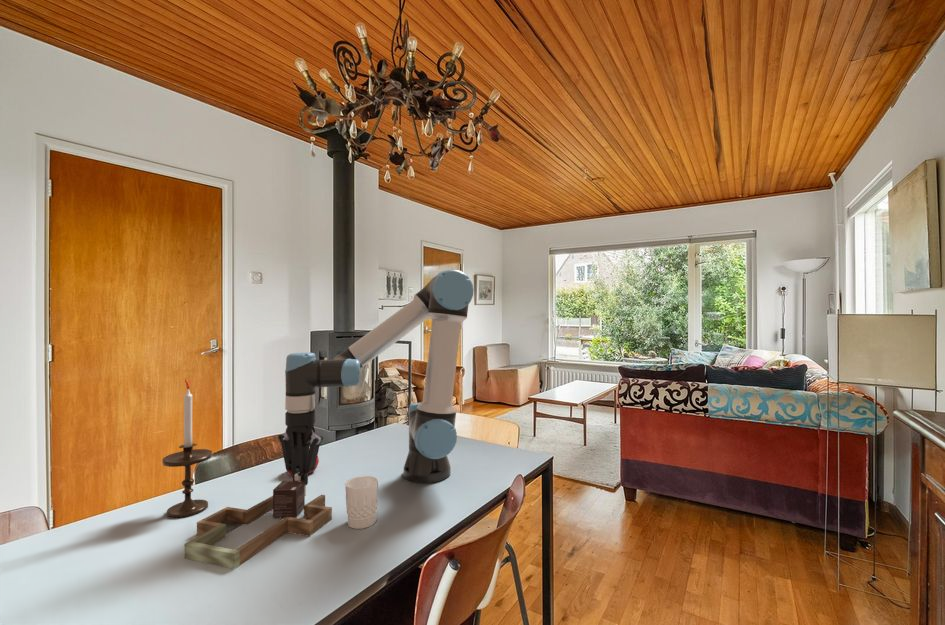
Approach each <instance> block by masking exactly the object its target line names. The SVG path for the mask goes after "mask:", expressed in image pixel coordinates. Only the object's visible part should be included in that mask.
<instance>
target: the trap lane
mask: <svg viewBox="0 0 945 625" xmlns="http://www.w3.org/2000/svg"><path fill="white" fill-rule="evenodd" d="M271 511H273V495H271V496H269V497H268V498H266V499H264V500H262V501H261V502H259V503H256V504H255V505H253V506H251V507H250V508H248V509H244V508H238V507H237V508H236V507H231V506H226V507H224V508H222V509H220V510H218V511H216V512H214V513H212V514H210V515H208V516H206V517H203V518H202V519H200V520H199V521H196V537H194V538H193V539H191V540H189V541H187V542H186V543H184V547H183V548H184V552H183V553H184V560H185V559H186V560H191V561H195V562H200V563H205V564H210V565H215V566H220V567H223V568H227V569H228V568H229V569H234V570H235V569H237V568H238V567H240V566H241V565H243V564H244V563H246V562H247V561H248V560H250V559H251V558H253V557H254V556H256V555H257V554H259V553H260V552H262V551H263V550H265V549H266V548H267V547H269V546H270V545H272V544H273V543H275V542H276V541H277V540H279V539H280V538H282V537H283V536H284V535H286V534H294V533H296V534H295V535H300V534H301V536H306V535H308V536H307V537H311V536H312V535H313V534H314V533H316V532H318V531H319V530H320V529H321V528H323V527H324V526H326V524H328V523H330V522H331V521H332V520H333V507H332V506H326V495H325V494H320V495H318V496H317V497H315V498H314V499H312V500H311V501H309V502H308V503H306V504H305V505H304V509H303V518H304V519H303V518H298V517H296V518H293V517H286V518H281V519H280V520H279V521H278V522H277V523H275V524H273V525H271V526H270V527H268V528H267V529H265V530H264V531H262V532H261V533H259V534H257V535H256V536H255V537H252V538H251V539H250V540H248V541H245V542H244V544H242V545H240V546H239V547H237V548H236V549H233V548H227V547H223V546H222V547H221V546H217V545H216V544H217V543H218V542H220V541H222V540H224V539H226V537H227V535H228V534H229V533H231V532H232V531H235V530H236V529H237V528H239V527H241V526H242V525H245V526H247V525H249V524H251V523H253V522H254V521H256V520H258V519H259V518H261V517H263V516H264V514H265V515H266V514H268V513H270V512H271ZM323 525H324V526H323ZM319 528H320V529H319ZM318 529H319V530H318ZM288 532H289V533H288ZM310 535H311V536H310Z"/></svg>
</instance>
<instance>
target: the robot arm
mask: <svg viewBox="0 0 945 625" xmlns="http://www.w3.org/2000/svg"><path fill="white" fill-rule="evenodd" d="M474 291H475V290H474V285H473V282H472V280H471V278H470V277H469V276H468V274H466V273H465V272H463V271H461V270H457V269H446V270H443V271H440V272H439V273H438V274H437V275H435V276H434V277H432V278H431V279H430V281H428V283H427V284H426V285H425V286H424V287H422V289H420V290H419V291H418V292H417V293H415V294H414V295H413V299H412V300H411V301H410V302H408V303H407V304H405V305H404V306H403V307H402V308H400V309H399V310H398V311H396V312H395V313H393V314H392V315H390V316H389V317H388V318H386V319H385V320H384V321H383V322H381V323H380V324H379V325H377V326H376V327H374V328H373V329H372V330H370V331H369V332H368V333H366V334H364V336H362V337H361V338H360V339H358V340H357V341H355V342H354V343H352V344H351V345H349V347H347V348H346V349H345V350H343V351H342V352H340V353H339V354H336V355H335V356H334V357H333V358H332V359H317V357H316V353H314V352H292V353H290V354H288V355H287V356H286V359H285V360H286V362H285V370H284V371H285V404H284V407H285V408H284V409H285V411H286V412H285V415H284V416H285V417H284V418H285V419H284V420H285V426H286V428H285V432H284V433H283V432H282V433H281V434H278V436H277V438H278V440H279V442H280V444H281V449H282V450H281V451H282V454H283V461H284V465H285V470H286V472H287V471H291V472H292V474H293V476H292V481H302V480H304V481H305V497H306V496H307V491H306V490H307V485H308V484H309V474H310V473H309V472H311V471H313V470H314V469H315V465H316V460H317V455H319V450H320V446H321V443H322V442H323V440H324V438H323V436H322V435H320V436H319V435H317V433H316V428H315V423H316V410H315V407H316V388H336V387H337V388H338V387H343V388H344V387H345V388H349V387H354V386H355V387H356V386H359V384H361V369H362V368H364V367H365V366H366V365H367V364H369V363H370V362H372V361H373V360H374V359H376V358H377V357H378V356H379V355H381V354H382V353H384V352H385V351H386V350H388V349H389V348H390V347H392V346H393V345H394V344H395V343H397V342H398V341H400V340H401V339H402V338H404V337H405V336H406V335H407V334H409V333H411V331H414V330H415V328H417V327H418V326H420V325H421V324H423V323H424V322H425V321H426V320H431V328H430V338H429V345H428V346H429V347H428V352H427V353H428V354H427V363H426V369H425V370H426V372H425V379H424V387H423V388H424V389H423V396H422V401H421V402H413V403H411V404H409V407H408V413H407V414H408V454H407V456H406V460H405V463H404V465H403V477H404V479H406V480H407V481H411V482H413V483H423V484H425V483H437V482H440V481H443V480H446V479H447V478H449V477H450V476H451V472H452V471H451V463H450V461H449V457H448V456H449V454H450V453H452V451H453V450H454V449H455V448H456V444H457V441H458V440H457V439H458V434H457V430H456V426H455V425H456V417H457V408H456V407H454V405H453V397H454V390H455V389H454V388H455V380H456V371H457V363H458V362H457V361H458V352H459V347H460V346H459V344H460V335H461V328H462V323H463V322H464V321H466V319H468V312H469V305H470V303H471V302H472V299H473V296H474V293H475V292H474ZM309 448H310V449H309ZM290 464H291V465H290ZM315 470H316V469H315ZM313 472H314V471H313ZM308 473H309V474H308Z"/></svg>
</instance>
